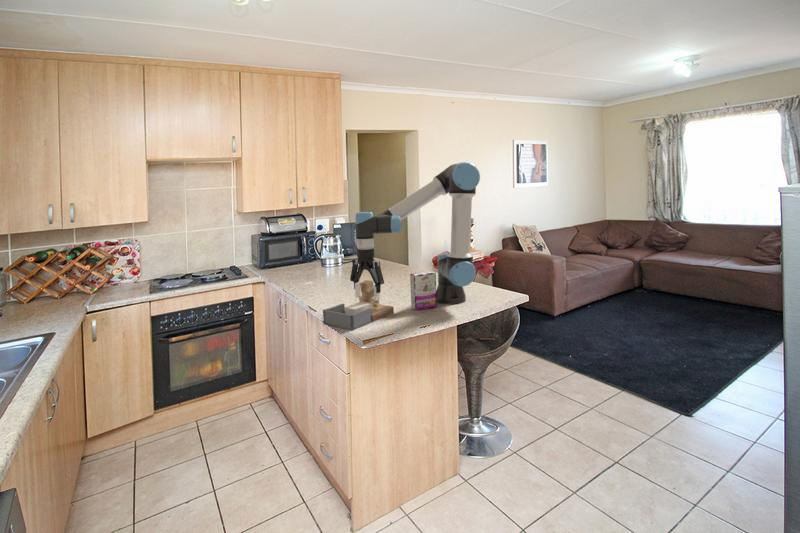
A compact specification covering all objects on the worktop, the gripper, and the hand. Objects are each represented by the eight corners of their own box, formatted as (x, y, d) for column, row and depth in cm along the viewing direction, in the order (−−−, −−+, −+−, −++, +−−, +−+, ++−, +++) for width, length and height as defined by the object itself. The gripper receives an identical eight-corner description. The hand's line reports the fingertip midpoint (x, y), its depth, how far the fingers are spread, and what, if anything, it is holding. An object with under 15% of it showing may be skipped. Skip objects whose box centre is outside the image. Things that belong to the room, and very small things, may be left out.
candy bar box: (431, 304, 205) (431, 270, 202) (437, 307, 200) (436, 272, 197) (410, 308, 200) (409, 273, 197) (415, 310, 196) (414, 275, 193)
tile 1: (365, 312, 184) (364, 305, 184) (355, 316, 179) (355, 309, 179) (354, 310, 188) (354, 304, 187) (345, 314, 183) (344, 307, 182)
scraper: (381, 305, 190) (378, 281, 187) (375, 308, 187) (372, 284, 184) (363, 302, 196) (360, 279, 193) (358, 305, 193) (354, 282, 190)
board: (393, 313, 193) (393, 306, 192) (372, 322, 181) (372, 315, 180) (366, 308, 202) (365, 302, 202) (344, 316, 190) (343, 309, 189)
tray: (371, 322, 180) (371, 308, 179) (352, 330, 171) (352, 315, 170) (343, 316, 190) (342, 303, 189) (323, 324, 180) (322, 310, 179)
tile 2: (373, 309, 189) (373, 302, 189) (365, 312, 184) (364, 305, 184) (363, 307, 193) (363, 300, 192) (354, 310, 188) (354, 304, 187)
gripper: (340, 247, 190) (342, 297, 193) (380, 250, 177) (382, 303, 180) (351, 245, 196) (353, 293, 199) (391, 248, 183) (393, 299, 186)
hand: (367, 298), depth 190 cm, fingers closed on scraper, 10 cm apart
